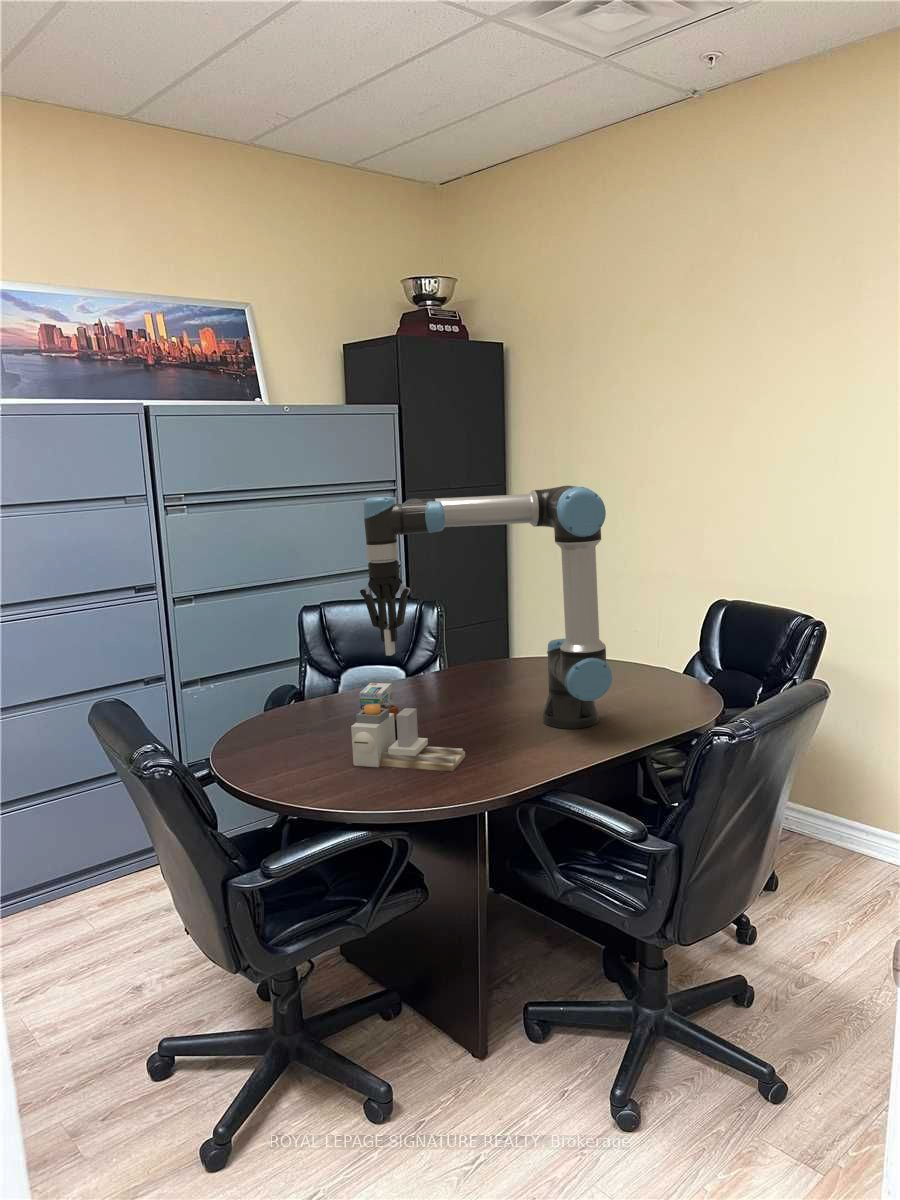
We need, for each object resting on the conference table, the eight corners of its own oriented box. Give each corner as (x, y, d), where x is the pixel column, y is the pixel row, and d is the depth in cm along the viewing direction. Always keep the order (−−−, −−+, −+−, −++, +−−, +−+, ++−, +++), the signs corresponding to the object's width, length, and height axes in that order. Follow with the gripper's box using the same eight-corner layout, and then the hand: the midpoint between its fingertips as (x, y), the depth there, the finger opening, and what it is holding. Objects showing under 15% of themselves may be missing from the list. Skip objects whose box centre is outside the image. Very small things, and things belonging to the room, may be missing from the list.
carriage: (427, 743, 228) (426, 707, 227) (415, 755, 220) (413, 718, 218) (401, 742, 231) (399, 705, 229) (388, 754, 222) (386, 716, 221)
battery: (387, 743, 240) (385, 706, 238) (372, 737, 245) (370, 701, 243) (400, 739, 242) (398, 703, 241) (386, 733, 248) (384, 698, 246)
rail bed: (465, 757, 226) (464, 746, 226) (452, 771, 217) (452, 760, 217) (395, 752, 232) (395, 742, 232) (380, 766, 223) (380, 755, 222)
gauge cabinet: (396, 751, 233) (393, 705, 231) (377, 768, 221) (374, 720, 219) (372, 749, 235) (369, 704, 233) (352, 766, 223) (349, 719, 221)
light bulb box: (384, 731, 250) (382, 692, 248) (360, 730, 252) (358, 692, 250) (394, 719, 261) (392, 682, 259) (371, 718, 262) (369, 682, 260)
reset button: (383, 715, 228) (382, 704, 228) (377, 720, 224) (376, 708, 224) (368, 714, 229) (367, 703, 229) (362, 719, 226) (361, 707, 225)
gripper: (413, 557, 225) (420, 650, 229) (364, 558, 229) (371, 650, 233) (402, 562, 218) (410, 658, 222) (352, 563, 222) (360, 657, 226)
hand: (390, 654), depth 228 cm, fingers closed
